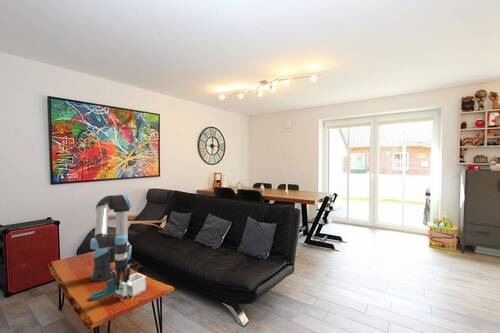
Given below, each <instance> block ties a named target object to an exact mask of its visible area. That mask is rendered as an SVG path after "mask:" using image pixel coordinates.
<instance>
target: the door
mask: <svg viewBox="0 0 500 333" xmlns="http://www.w3.org/2000/svg"><path fill="white" fill-rule="evenodd" d="M120 285H121V288H120V290H121V295H120V297H122V298H124V297H126V295H127V283H126V282H124V281H123V280H121V279H120ZM116 293H117V290H116Z"/></svg>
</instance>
